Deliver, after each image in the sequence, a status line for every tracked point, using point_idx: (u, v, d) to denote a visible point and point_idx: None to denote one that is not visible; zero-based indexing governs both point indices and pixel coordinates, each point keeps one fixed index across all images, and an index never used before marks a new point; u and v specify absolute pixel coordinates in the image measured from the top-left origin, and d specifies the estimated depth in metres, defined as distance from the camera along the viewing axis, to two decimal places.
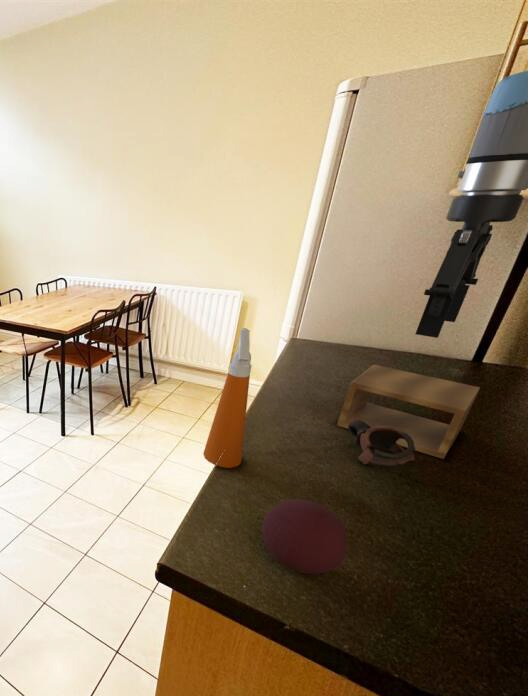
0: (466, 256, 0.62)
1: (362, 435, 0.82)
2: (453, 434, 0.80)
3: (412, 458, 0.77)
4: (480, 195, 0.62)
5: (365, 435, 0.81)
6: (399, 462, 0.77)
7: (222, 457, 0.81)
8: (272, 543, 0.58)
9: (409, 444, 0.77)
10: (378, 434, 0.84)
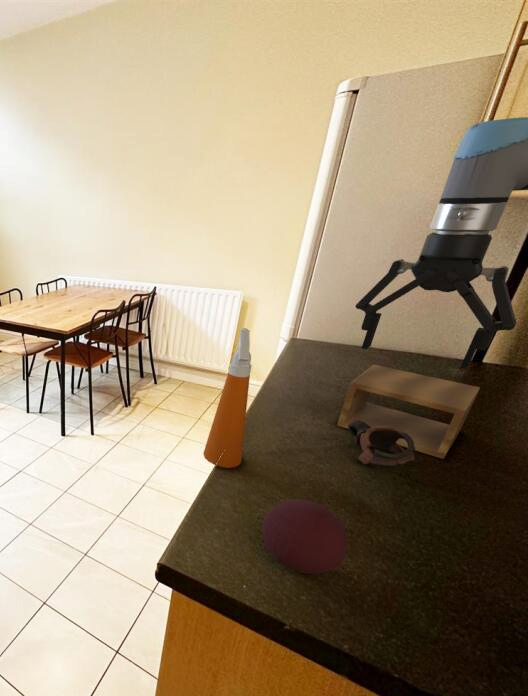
0: (507, 291, 0.65)
1: (362, 435, 0.82)
2: (453, 434, 0.80)
3: (412, 458, 0.77)
4: (487, 234, 0.64)
5: (365, 435, 0.81)
6: (399, 462, 0.77)
7: (222, 457, 0.81)
8: (272, 543, 0.58)
9: (409, 444, 0.77)
10: (378, 434, 0.84)
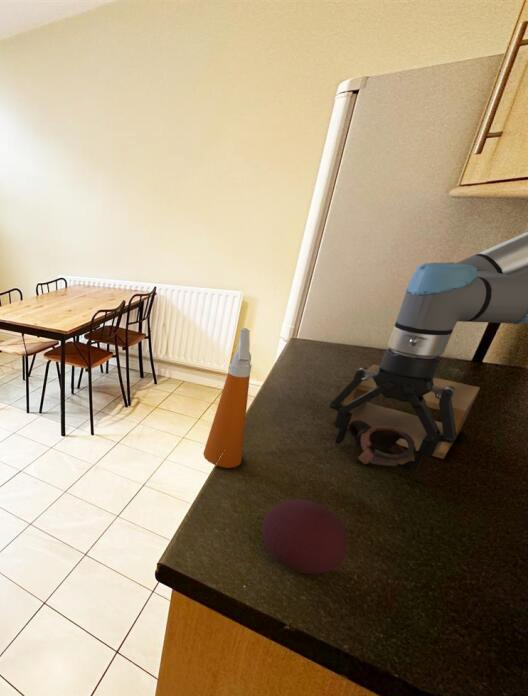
0: (452, 407, 0.73)
1: (362, 435, 0.82)
2: None
3: (412, 458, 0.77)
4: (436, 358, 0.72)
5: (366, 435, 0.81)
6: (399, 462, 0.77)
7: (222, 457, 0.81)
8: (272, 543, 0.58)
9: (409, 444, 0.77)
10: (378, 434, 0.84)
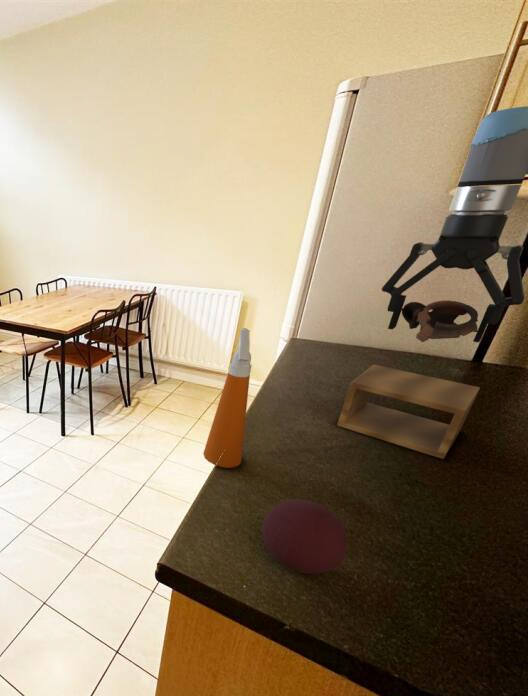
0: None
1: (420, 313, 0.79)
2: (453, 434, 0.80)
3: (476, 329, 0.74)
4: (504, 214, 0.69)
5: (424, 311, 0.78)
6: (462, 333, 0.74)
7: (222, 457, 0.81)
8: (272, 543, 0.58)
9: (473, 314, 0.74)
10: (434, 315, 0.81)
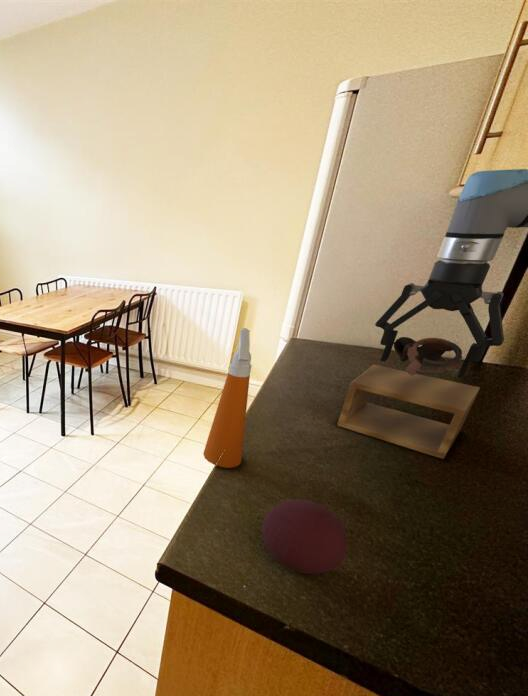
0: (500, 312, 0.77)
1: (409, 348, 0.86)
2: (453, 434, 0.80)
3: (460, 365, 0.81)
4: (486, 263, 0.76)
5: (413, 347, 0.85)
6: (447, 369, 0.81)
7: (222, 457, 0.81)
8: (272, 543, 0.58)
9: (457, 352, 0.81)
10: (424, 349, 0.88)
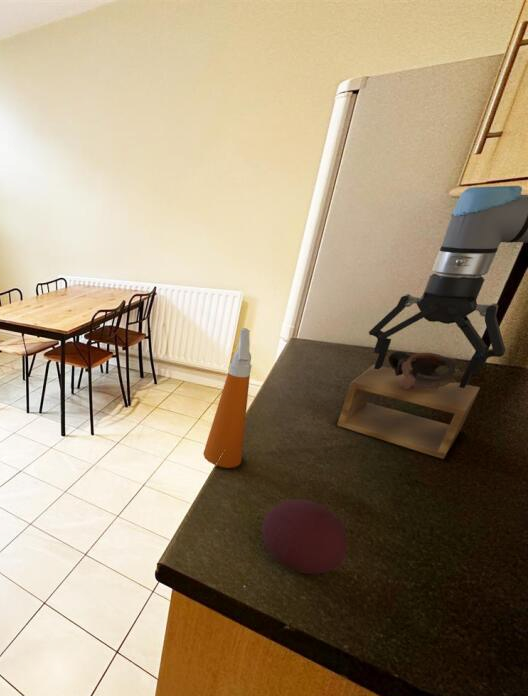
0: None
1: (404, 363, 0.87)
2: (453, 434, 0.80)
3: (453, 380, 0.82)
4: (480, 277, 0.77)
5: (407, 362, 0.86)
6: (441, 384, 0.82)
7: (222, 457, 0.81)
8: (272, 543, 0.58)
9: (450, 367, 0.82)
10: (418, 364, 0.89)
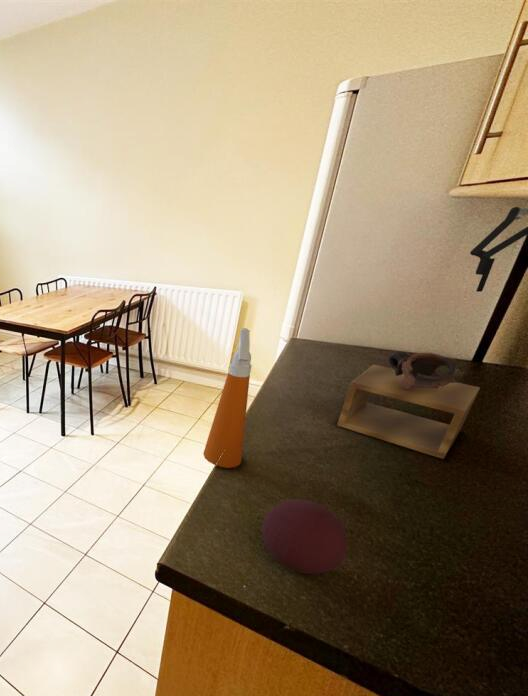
0: None
1: (403, 363, 0.87)
2: (453, 434, 0.80)
3: (453, 380, 0.82)
4: None
5: (407, 362, 0.86)
6: (441, 384, 0.82)
7: (222, 457, 0.81)
8: (272, 543, 0.58)
9: (450, 367, 0.82)
10: (418, 364, 0.89)
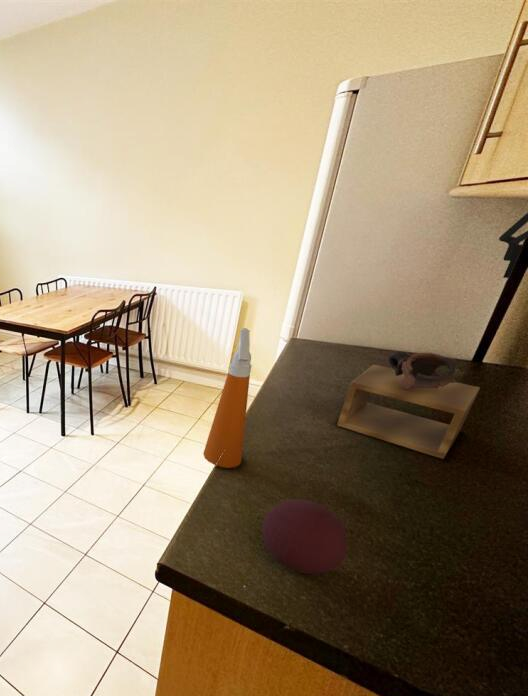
0: None
1: (404, 363, 0.87)
2: (453, 434, 0.80)
3: (453, 380, 0.82)
4: None
5: (407, 362, 0.86)
6: (441, 384, 0.82)
7: (222, 457, 0.81)
8: (272, 543, 0.58)
9: (450, 367, 0.82)
10: (418, 364, 0.89)
